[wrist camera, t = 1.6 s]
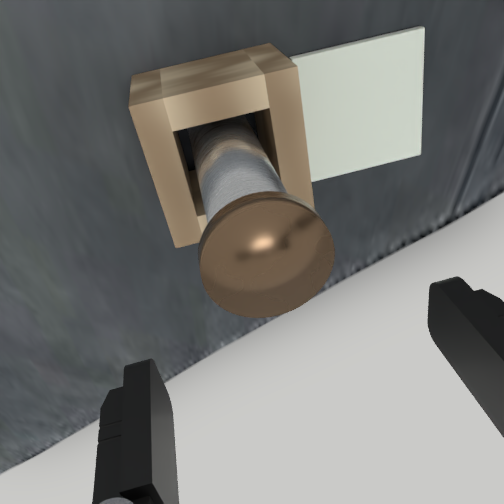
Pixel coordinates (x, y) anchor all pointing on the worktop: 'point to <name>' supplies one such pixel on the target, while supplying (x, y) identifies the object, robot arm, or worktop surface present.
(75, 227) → the worktop surface
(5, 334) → the worktop surface
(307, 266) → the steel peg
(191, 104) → the oak eye block
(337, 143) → the sage mat
